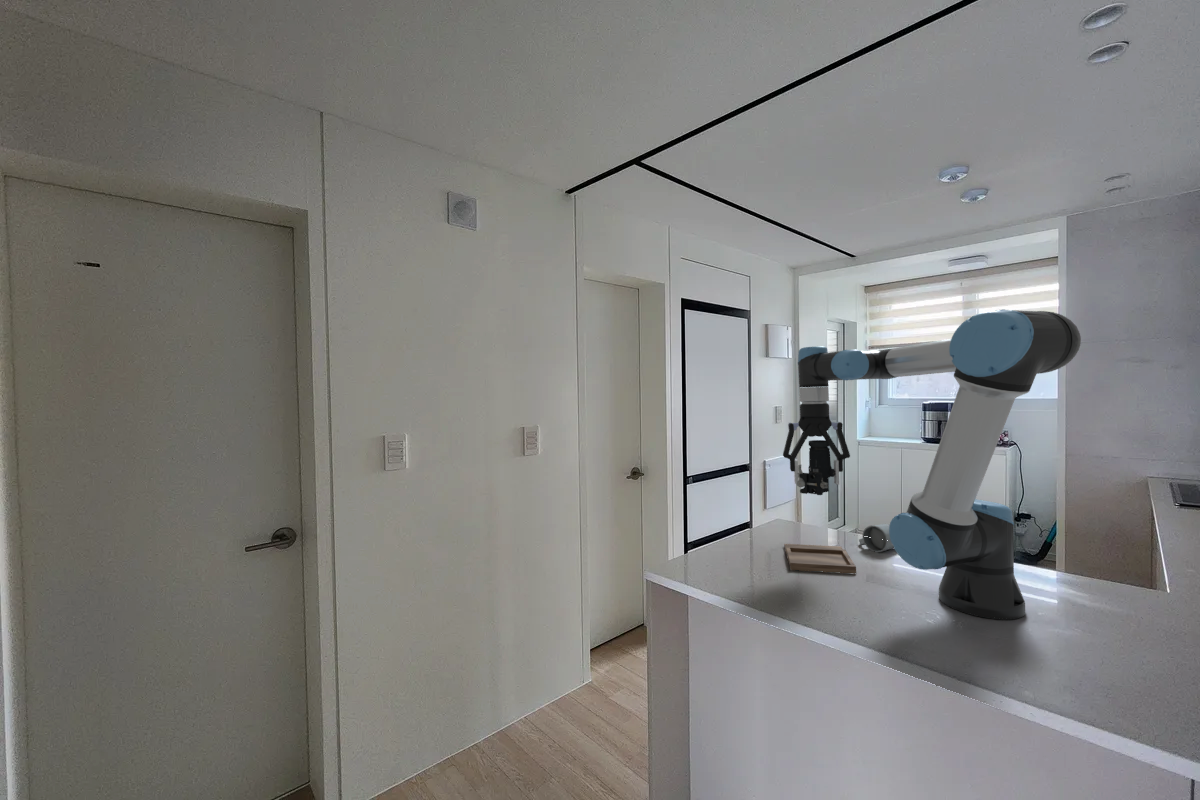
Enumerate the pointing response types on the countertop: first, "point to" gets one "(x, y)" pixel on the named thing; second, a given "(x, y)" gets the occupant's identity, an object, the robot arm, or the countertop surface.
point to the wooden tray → (819, 558)
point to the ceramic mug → (877, 538)
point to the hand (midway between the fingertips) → (816, 483)
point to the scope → (816, 469)
